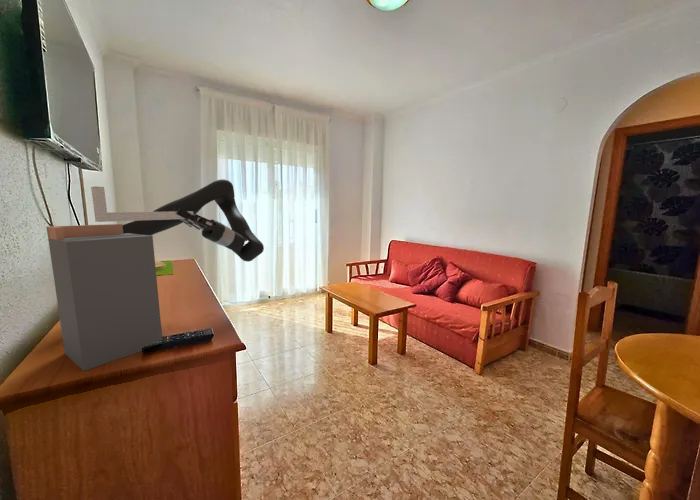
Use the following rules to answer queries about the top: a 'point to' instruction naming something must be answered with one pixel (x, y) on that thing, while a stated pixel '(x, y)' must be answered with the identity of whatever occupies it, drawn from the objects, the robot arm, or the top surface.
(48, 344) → the top surface
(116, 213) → the aluminium bracket
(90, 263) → the charcoal stand
